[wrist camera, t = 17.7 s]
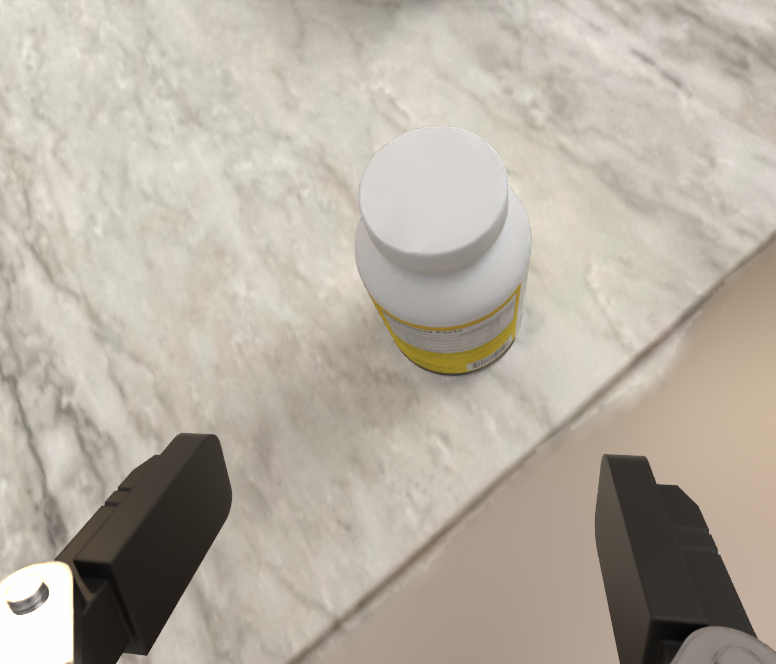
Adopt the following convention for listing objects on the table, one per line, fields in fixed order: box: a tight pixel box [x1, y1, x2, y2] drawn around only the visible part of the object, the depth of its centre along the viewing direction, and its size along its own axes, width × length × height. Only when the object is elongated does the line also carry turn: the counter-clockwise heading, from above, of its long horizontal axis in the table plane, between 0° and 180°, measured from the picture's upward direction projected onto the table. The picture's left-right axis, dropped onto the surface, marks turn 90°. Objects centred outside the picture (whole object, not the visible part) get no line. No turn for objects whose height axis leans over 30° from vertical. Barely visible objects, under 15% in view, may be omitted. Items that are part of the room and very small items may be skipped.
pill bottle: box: [355, 126, 532, 376], centre depth 23 cm, size 6×6×12 cm
